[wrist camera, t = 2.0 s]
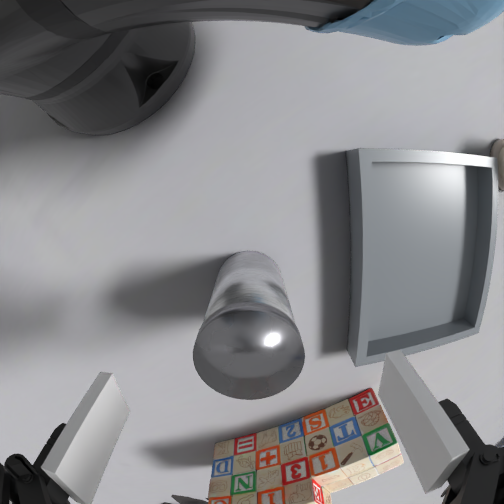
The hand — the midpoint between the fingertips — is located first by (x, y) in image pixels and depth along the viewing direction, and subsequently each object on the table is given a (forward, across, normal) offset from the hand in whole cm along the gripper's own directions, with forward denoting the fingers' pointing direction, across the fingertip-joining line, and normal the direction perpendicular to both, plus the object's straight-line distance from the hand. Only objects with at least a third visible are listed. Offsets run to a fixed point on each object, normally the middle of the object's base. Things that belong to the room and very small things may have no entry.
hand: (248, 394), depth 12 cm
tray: (+13, +17, +1) cm, 22 cm away
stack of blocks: (+14, +4, -21) cm, 26 cm away
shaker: (+14, 0, 0) cm, 14 cm away
